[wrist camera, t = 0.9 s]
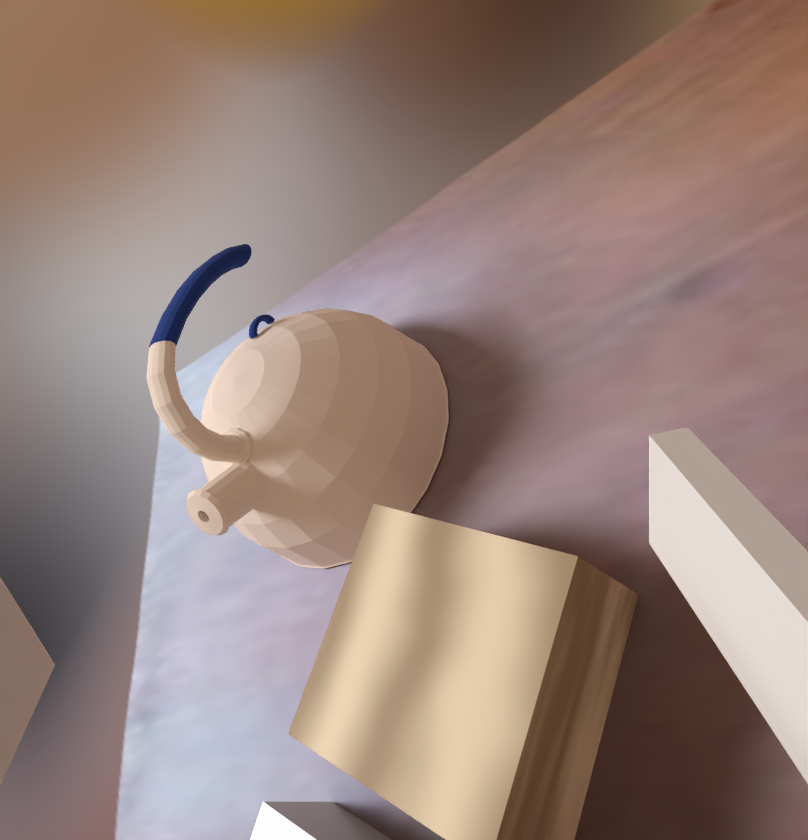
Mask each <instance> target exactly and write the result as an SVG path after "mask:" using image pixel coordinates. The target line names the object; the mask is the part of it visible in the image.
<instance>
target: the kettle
mask: <svg viewBox="0 0 808 840" xmlns="http://www.w3.org/2000/svg"><path fill="white" fill-rule="evenodd" d="M250 256H251V248H250V246H249V245H247V244H243V245H239V246H235V247H230V248H227V249H225V250H223V251H222V252H220V253H218V254H216V255H214V256H212V257H211V258H210V259H209V260H208V261H206V262H205V263H204V264H203V265H201V266H200V267H199V268H197V269H196V270H195V271H194V272H193V273H192V274H191V275H190V276H189V277H188V279H187V280H186V281H185V282H184V283H183V284H182V286H181V287H180V288H179V289H178V290H177V292H176V294H175V295H174V297H173V298H172V300H171V302H170V304H169V305H168V307H167V308H166V310H165V312H164V313H163V315H162V317H161V319H160V321H159V324H158V326H157V329H156V331H155V333H154V336H153V338H152V340H151V343H150V345H149V348H150V349H149V357H148V368H147V381H148V386H149V390H150V393H151V397H152V401H153V405H154V408H155V410H156V412H157V413H158V415H159V417H160V418H161V420H162V422H163V423H164V425H165V427H166V428H167V430H168V432H169V433H170V434H171V435H172V436H173V437H174V438H175V439H177V440H178V441H179V442H180V443H181V444H182V445H183V446H184V447H185V448H186V449H187V450H189V451H190V452H192V453H194V454H197V455H199V456H201V460H202V463H203V466H204V469H205V473H206V476H207V479H208V483H207V484H206V485H204V486H203V487H202V488H200V489H199V490H193V491H192V492H190V493H189V495H188V498H187V503H186V504H187V511H188V514H189V516H190V518H191V520H192V521H193V522H194V524H195V525H196V526H197V527H198V528H199V529H201V530H202V531H204V532H206V533H208V534H212V535H222V534H224V533H226V532H227V530H228V528H229V527H230V526H231V525H232V524H234V525H235V526H236V527H237V528H238V529H239V530H240V532H241V533H242V534H243V535H244V536H245V537H247V538H249V539H251V540H252V541H254V542H256V543H258V544H260V545H261V546H263V547H265V548H267V549H269V550H271V551H273V552H275V553H277V554H279V555H280V556H281V557H283V558H285V559H287V560H289V561H291V562H292V563H294V564H296V565H298V566H302V567H311V568H320V569H325V568H329V567H333V566H337V565H341V564H345V563H349V562H352V560H353V557H354V555H355V552H356V549H357V547H358V544H359V541H360V539H361V536H362V533H363V530H364V528H365V525H366V522H367V520H368V517H369V514H370V512H371V509H372V506H373V504H377V505H381V506H385V507H389V508H392V509H396V510H400V511H404V512H408V513H411V512H412V511H413V509H414V508H415V506H416V505H417V503H418V502H419V500H420V499H421V498H422V496H423V495H424V493H425V492H426V490H427V488H428V486H429V484H430V481H431V479H432V477H433V475H434V472H435V470H436V468H437V465H438V463H439V461H440V458H441V456H442V452H443V447H444V442H445V437H446V432H447V427H448V422H449V414H448V390H447V387H446V384H445V381H444V378H443V375H442V372H441V369H440V366H439V364H438V362H437V361H436V360H435V359H434V357H433V356H432V355H431V354H430V353H429V351H428V350H427V349H426V348H425V346H424V345H422V344H420V343H418V342H416V341H414V340H413V339H411V338H409V337H407V336H406V335H404V334H403V333H401V332H400V331H398V330H396V329H395V328H393V327H392V326H390V325H389V324H387V323H385V322H383V321H381V320H379V319H377V318H376V317H374V316H372V315H368V314H362V313H357V312H352V311H347V310H338V309H328V308H325V309H319V310H314V311H308V312H303V313H298V314H294V315H290V316H285V317H282V318H280V319H279V320H277V321H275V322H274V318H273V317H272V316H270V315H260V316H258V317H257V318H256V319H255V320H254V321H253V322H252V324H251V325H250V329H249V337H248V338H247V339H245V340H244V341H243V342H242V343H240V344H239V345H238V346H237V347H236V348H235V349H234V350H233V351H232V352H231V354H230V355H229V356H228V357H227V358H226V360H225V361H224V362H223V364H222V365H221V367H220V368H219V370H218V371H217V373H216V375H215V377H214V379H213V381H212V383H211V385H210V387H209V389H208V392H207V395H206V398H205V401H204V404H203V410H202V416H201V422H200V421H199V420H197V419H196V418H195V417H194V416H193V414H192V413H191V411H190V409H189V408H188V406H187V404H186V403H185V401H184V399H183V398H182V396H181V393H180V389H179V385H178V381H177V377H176V374H175V349H176V345H177V342H178V340H179V337H180V335H181V332H182V329H183V327H184V324H185V322H186V319H187V317H188V316H189V314H190V313H191V311H192V309H193V308H194V306H195V304H196V302H197V301H198V300H199V298H200V297H201V296H202V294H203V293H204V292H205V291H206V290H207V289H208V287H209V286H210V285H211V284H212V283H213V282H214V281H215V280H217V278H219V277H220V276H221V275H223V274H225V273H226V272H228V271H230V270H232V269H235V268H238V267H242V266H243V265H245V264H246V263H247V262H248V260H249V258H250ZM261 321H265V322H266V323H267V324H269V325H267V326H265V327H264V328H262V329H260V330H259V331H257V328H258V325H259V323H260V322H261Z"/></svg>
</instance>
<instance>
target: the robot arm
mask: <svg viewBox="0 0 808 840" xmlns="http://www.w3.org/2000/svg"><path fill="white" fill-rule="evenodd" d="M649 544H650V545H651V547H652V548H653V550H654V551H655V553H656V554H657V556H658V557H659V559H660V560H661V562H662V564H663V565H664V567H665V568H666V570H667V571H668V573H669V574H670V576H671V577H672V579H673V580H674V582H675V583H676V585H677V586H678V588H679V589H680V591H681V592H682V594H683V595H684V597H685V598H686V600H687V601H688V603H689V605H690V606H691V608H692V609H693V611H694V612H695V614H696V615H697V617H698V618H699V620H700V621H701V623H702V624H703V626H704V627H705V629H706V630H707V632H708V633H709V635H710V636H711V638H712V639H713V641H714V642H715V644H716V645H717V647H718V649H719V650H720V652H721V653H722V655H723V656H724V658H725V659H726V661H727V662H728V664H729V665H730V667H731V668H732V670H733V671H734V673H735V674H736V676H737V677H738V679H739V680H740V682H741V683H742V685H743V686H744V688H745V689H746V691H747V693H748V694H749V696H750V697H751V699H752V700H753V702H754V703H755V705H756V706H757V708H758V709H759V711H760V712H761V714H762V715H763V717H764V718H765V720H766V721H767V723H768V724H769V726H770V727H771V729H772V730H773V732H774V733H775V735H776V737H777V738H778V740H779V741H780V743H781V744H782V746H783V747H784V749H785V750H786V752H787V753H788V755H789V756H790V758H791V759H792V761H793V762H794V764H795V765H796V767H797V768H798V770H799V771H800V773H801V774H802V776H803V778H804V779H805V781H806V782H807V784H808V551H807V550H806V549H805V548H804V547H803V546H802V545H801V544H800V543H799V542H798V541H797V540H796V539H795V538H794V537H793V536H792V535H791V534H790V533H789V532H788V531H787V530H786V528H785V527H784V526H783V525H782V524H781V523H780V522H779V521H778V520H777V519H776V518H775V517H774V516H773V515H772V514H771V513H770V512H769V511H768V510H767V509H766V508H765V507H764V506H763V505H762V504H761V503H760V502H759V501H758V500H757V499H756V498H755V497H754V496H753V494H752V493H751V492H750V491H749V490H748V489H747V488H746V487H745V486H744V485H743V484H742V483H741V482H740V481H739V480H738V479H737V478H736V477H735V476H734V475H733V474H732V473H731V472H730V471H729V470H728V469H727V468H726V467H725V466H724V465H723V464H722V463H721V462H720V460H719V459H718V458H717V457H716V456H715V455H714V454H713V453H712V452H711V451H710V450H709V449H708V448H707V447H706V446H705V445H704V444H703V443H702V442H701V441H700V440H699V439H698V438H697V437H696V436H695V435H694V434H693V433H692V432H691V431H690V430H689V429H688V428H682V429H677V430H672V431H667V432H662V433H657V434H652V435H649ZM54 666H55V664H54V663H53V661H52V659H51V658H50V656H49V655H48V653H47V651H46V650H45V648H44V646H43V645H42V643H41V642H40V640H39V639H38V637H37V636H36V634H35V632H34V631H33V629H32V627H31V626H30V624H29V622H28V621H27V619H26V618H25V616H24V614H23V613H22V611H21V610H20V608H19V607H18V605H17V604H16V602H15V600H14V598H13V597H12V595H11V594H10V592H9V590H8V589H7V587H6V586H5V584H4V583H3V581H2V579H1V578H0V784H1V782H2V780H3V777H4V775H5V773H6V771H7V768H8V766H9V764H10V762H11V760H12V758H13V755H14V753H15V751H16V749H17V747H18V745H19V742H20V740H21V738H22V736H23V734H24V731H25V729H26V727H27V725H28V723H29V720H30V718H31V716H32V714H33V712H34V709H35V707H36V705H37V703H38V701H39V698H40V696H41V694H42V692H43V690H44V687H45V685H46V683H47V681H48V679H49V676H50V674H51V672H52V670H53V668H54Z"/></svg>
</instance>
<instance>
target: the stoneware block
mask: <svg viewBox="0 0 808 840" xmlns="http://www.w3.org/2000/svg"><path fill="white" fill-rule="evenodd" d="M250 840H392V839H390V838H389V837H387V836H385V835H384V834H382V833H381V832H379V831H378V830H376V829H374V828H373V827H371V826H370V825H368V824H367V823H365V822H363V821H362V820H360V819H359V818H357V817H356V816H354V815H353V814H351V813H349V812H348V811H346V810H345V809H343V808H342V807H340V806H338V805H337V804H335V803H334V802H263V803H262V806H261V809H260V812H259V815H258V818H257V821H256V824H255V827H254V830H253V833H252V836H251V839H250Z"/></svg>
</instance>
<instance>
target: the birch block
mask: <svg viewBox="0 0 808 840" xmlns="http://www.w3.org/2000/svg"><path fill="white" fill-rule="evenodd" d="M638 595H639V594H637V593H635V592H634V591H632V590H631V589H629V588H628V587H626V586H624V585H623V584H621V583H620V582H618V581H616V580H615V579H613V578H612V577H610V576H609V575H607V574H605V573H604V572H602V571H601V570H599V569H597V568H596V567H594V566H593V565H591V564H590V563H588V562H586V561H585V560H583V559H582V558H580V557H578V556H575V555H571V554H567V553H564V552H560V551H556V550H552V549H548V548H544V547H540V546H536V545H532V544H529V543H525V542H521V541H517V540H513V539H509V538H505V537H501V536H497V535H494V534H490V533H486V532H482V531H478V530H474V529H470V528H466V527H462V526H459V525H455V524H451V523H447V522H443V521H439V520H435V519H431V518H427V517H424V516H420V515H416V514H412V513H408V512H404V511H400V510H396V509H392V508H389V507H385V506H381V505H377V504H373V506H372V509H371V512H370V514H369V517H368V520H367V522H366V525H365V528H364V530H363V533H362V536H361V539H360V541H359V544H358V547H357V549H356V552H355V555H354V557H353V560H352V563H351V566H350V568H349V571H348V574H347V576H346V579H345V582H344V584H343V587H342V590H341V592H340V595H339V598H338V601H337V603H336V606H335V609H334V611H333V614H332V617H331V619H330V622H329V625H328V628H327V630H326V633H325V636H324V638H323V641H322V644H321V646H320V649H319V652H318V655H317V657H316V660H315V663H314V665H313V668H312V671H311V673H310V676H309V679H308V682H307V684H306V687H305V690H304V692H303V695H302V698H301V700H300V703H299V706H298V709H297V711H296V714H295V717H294V719H293V722H292V725H291V727H290V730H289V733H288V734H289V735H290V736H292V737H293V738H295V739H296V740H298V741H299V742H301V743H302V744H304V745H305V746H307V747H308V748H310V749H311V750H313V751H314V752H316V753H317V754H319V755H320V756H321V757H323V758H324V759H326V760H327V761H329V762H330V763H332V764H333V765H335V766H336V767H338V768H339V769H341V770H342V771H344V772H345V773H347V774H348V775H350V776H351V777H353V778H354V779H356V780H357V781H359V782H360V783H362V784H363V785H365V786H366V787H368V788H369V789H371V790H372V791H374V792H375V793H377V794H378V795H380V796H381V797H383V798H384V799H386V800H387V801H389V802H390V803H392V804H393V805H395V806H396V807H398V808H399V809H401V810H402V811H404V812H405V813H407V814H408V815H410V816H411V817H413V818H414V819H416V820H417V821H419V822H420V823H422V824H423V825H424V826H426V827H427V828H429V829H430V830H432V831H433V832H435V833H436V834H438V835H439V836H441V837H442V838H444V839H445V840H574V839H575V835H576V832H577V828H578V824H579V820H580V816H581V813H582V809H583V805H584V801H585V797H586V793H587V790H588V786H589V782H590V778H591V774H592V771H593V767H594V763H595V759H596V755H597V752H598V748H599V744H600V740H601V736H602V732H603V729H604V725H605V721H606V717H607V713H608V710H609V706H610V702H611V698H612V694H613V690H614V687H615V683H616V679H617V675H618V671H619V668H620V664H621V660H622V656H623V652H624V649H625V645H626V641H627V637H628V633H629V629H630V626H631V622H632V618H633V614H634V610H635V607H636V603H637V599H638Z"/></svg>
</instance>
